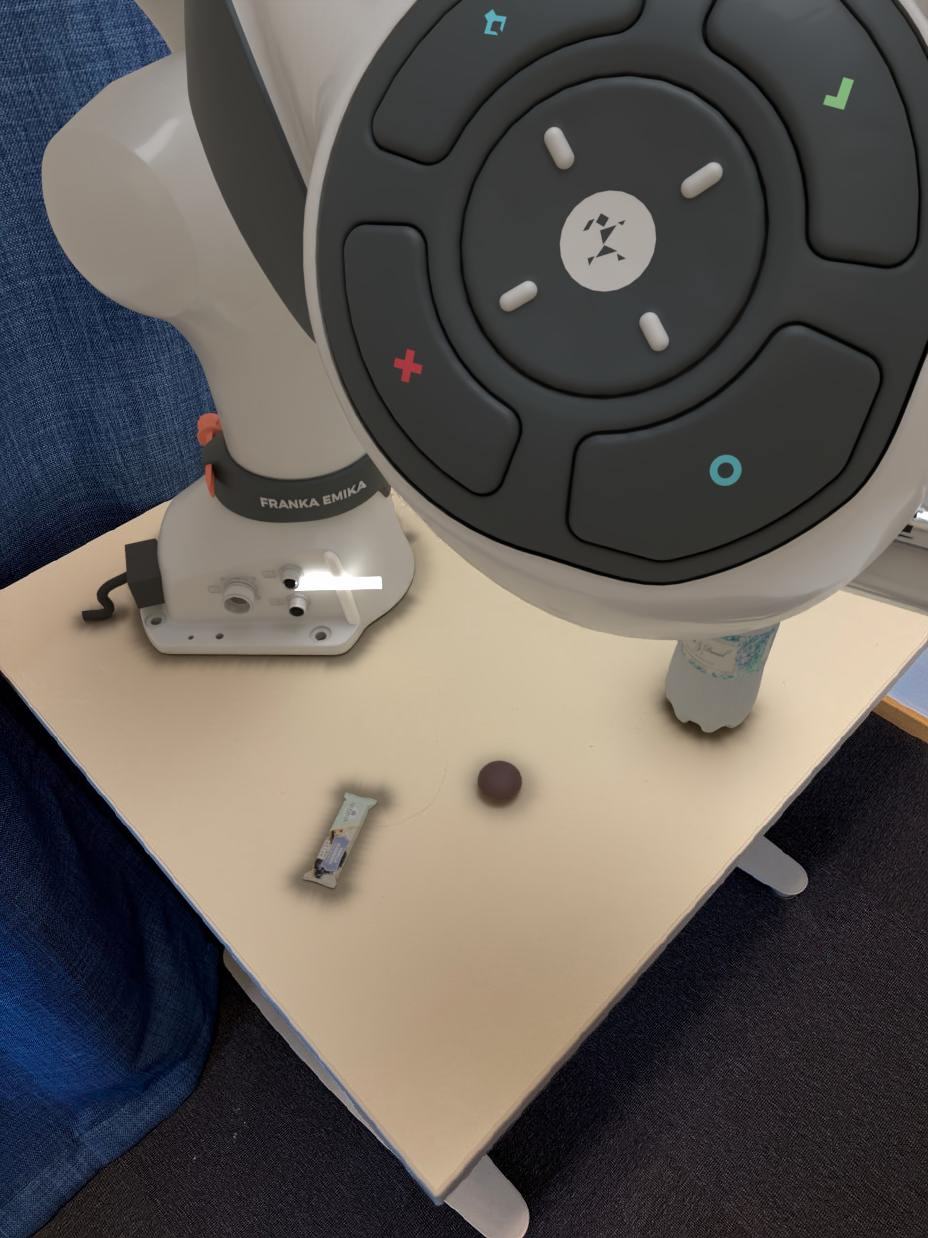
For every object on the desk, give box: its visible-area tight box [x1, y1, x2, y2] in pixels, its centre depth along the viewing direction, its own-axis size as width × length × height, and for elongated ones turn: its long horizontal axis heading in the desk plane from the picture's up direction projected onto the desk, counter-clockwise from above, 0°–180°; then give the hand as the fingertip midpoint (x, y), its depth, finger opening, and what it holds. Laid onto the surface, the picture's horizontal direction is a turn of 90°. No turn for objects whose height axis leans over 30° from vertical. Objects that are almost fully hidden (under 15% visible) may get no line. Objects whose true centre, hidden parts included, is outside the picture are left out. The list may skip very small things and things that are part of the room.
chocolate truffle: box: [477, 760, 523, 802], centre depth 61 cm, size 3×3×2 cm
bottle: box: [664, 622, 781, 733], centre depth 58 cm, size 7×7×20 cm
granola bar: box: [302, 792, 378, 889], centre depth 59 cm, size 7×2×1 cm, turn 160°
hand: (739, 519), depth 37 cm, fingers open, 8 cm apart
